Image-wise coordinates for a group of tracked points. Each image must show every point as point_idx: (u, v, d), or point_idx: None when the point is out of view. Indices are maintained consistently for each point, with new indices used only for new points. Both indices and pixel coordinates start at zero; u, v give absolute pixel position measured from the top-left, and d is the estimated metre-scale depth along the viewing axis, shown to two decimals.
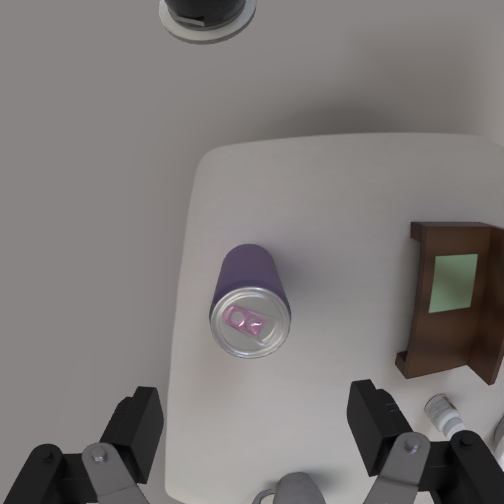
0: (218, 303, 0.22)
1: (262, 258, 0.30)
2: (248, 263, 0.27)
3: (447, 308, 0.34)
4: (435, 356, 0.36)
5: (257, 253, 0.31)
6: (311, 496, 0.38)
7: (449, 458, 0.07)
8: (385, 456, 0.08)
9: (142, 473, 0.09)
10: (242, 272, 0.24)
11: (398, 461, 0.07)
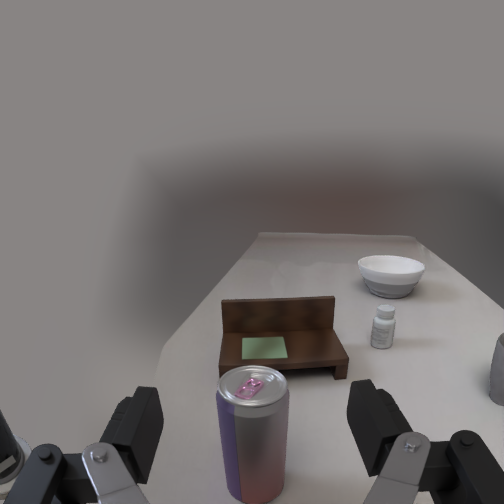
0: (230, 399, 0.22)
1: None
2: None
3: (284, 348, 0.51)
4: (325, 347, 0.50)
5: None
6: (494, 360, 0.34)
7: (449, 459, 0.07)
8: (385, 456, 0.08)
9: (142, 473, 0.09)
10: (218, 415, 0.24)
11: (398, 461, 0.07)
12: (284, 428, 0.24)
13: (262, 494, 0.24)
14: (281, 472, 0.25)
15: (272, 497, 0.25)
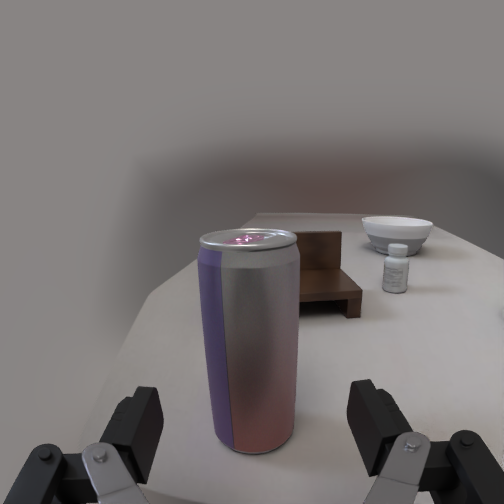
0: (215, 243, 0.17)
1: None
2: None
3: None
4: (334, 281, 0.45)
5: None
6: None
7: (448, 458, 0.07)
8: (385, 456, 0.08)
9: (142, 473, 0.09)
10: None
11: (398, 461, 0.07)
12: (295, 307, 0.18)
13: (264, 433, 0.19)
14: (291, 396, 0.19)
15: (278, 441, 0.19)
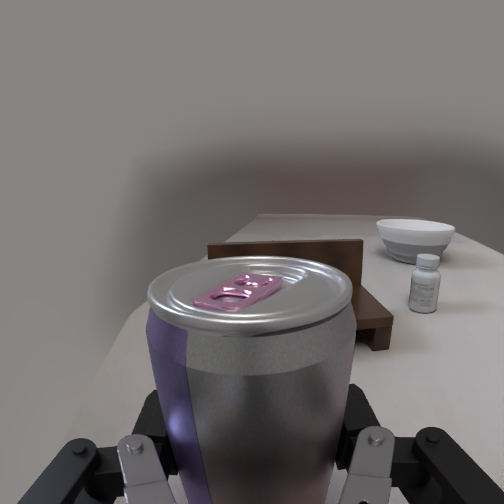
0: (172, 309, 0.07)
1: None
2: None
3: None
4: (357, 304, 0.35)
5: None
6: None
7: (414, 455, 0.08)
8: (351, 449, 0.09)
9: (174, 463, 0.09)
10: None
11: (365, 456, 0.07)
12: (341, 417, 0.08)
13: None
14: None
15: None
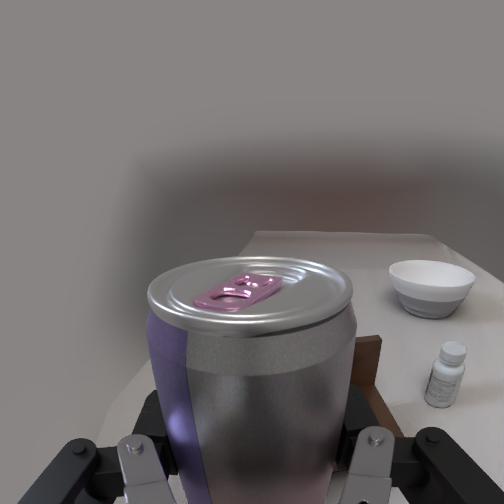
0: (172, 310, 0.07)
1: None
2: None
3: None
4: None
5: None
6: None
7: (414, 455, 0.08)
8: (350, 449, 0.09)
9: (174, 463, 0.09)
10: None
11: (365, 456, 0.07)
12: (341, 417, 0.08)
13: None
14: None
15: None
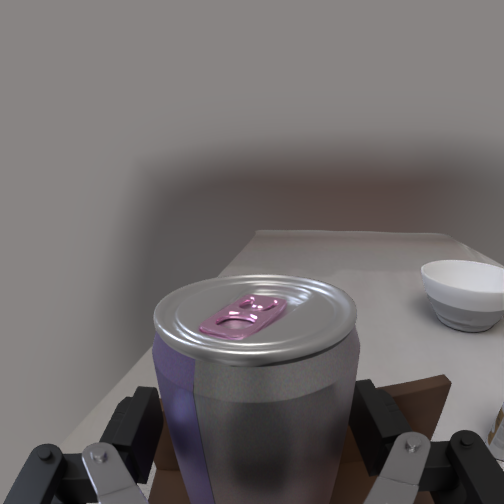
0: (179, 338, 0.07)
1: None
2: None
3: None
4: None
5: None
6: None
7: (449, 458, 0.07)
8: (385, 456, 0.08)
9: (142, 473, 0.09)
10: None
11: (398, 461, 0.07)
12: (344, 434, 0.08)
13: None
14: None
15: None
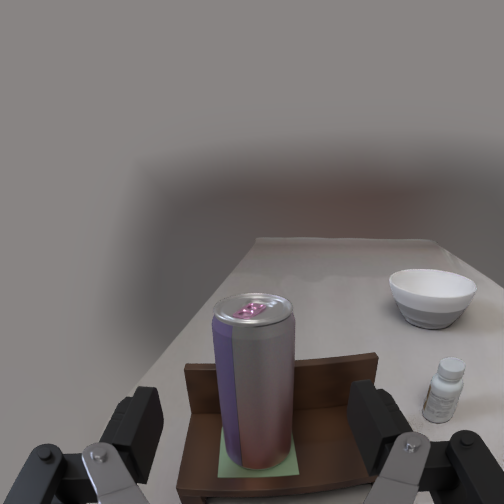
0: (227, 319, 0.20)
1: None
2: None
3: (293, 451, 0.25)
4: None
5: None
6: None
7: (449, 458, 0.07)
8: (385, 456, 0.08)
9: (142, 473, 0.09)
10: (214, 348, 0.23)
11: (398, 461, 0.07)
12: (290, 362, 0.22)
13: (266, 455, 0.22)
14: (288, 426, 0.23)
15: (278, 460, 0.23)
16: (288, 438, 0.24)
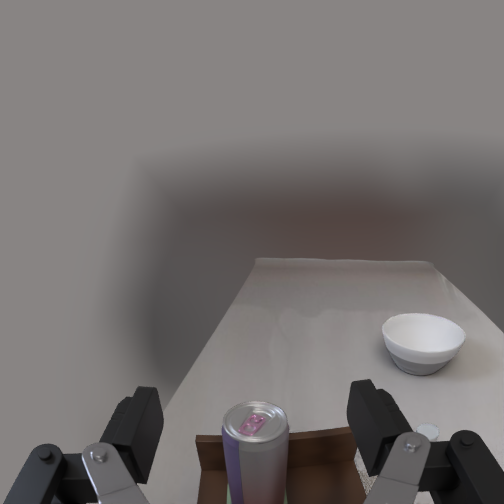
0: (234, 436, 0.23)
1: None
2: None
3: None
4: (343, 501, 0.28)
5: None
6: None
7: (449, 458, 0.07)
8: (385, 456, 0.08)
9: (142, 473, 0.09)
10: (223, 446, 0.25)
11: (398, 461, 0.07)
12: (284, 458, 0.24)
13: None
14: (281, 494, 0.26)
15: None
16: (281, 500, 0.26)
